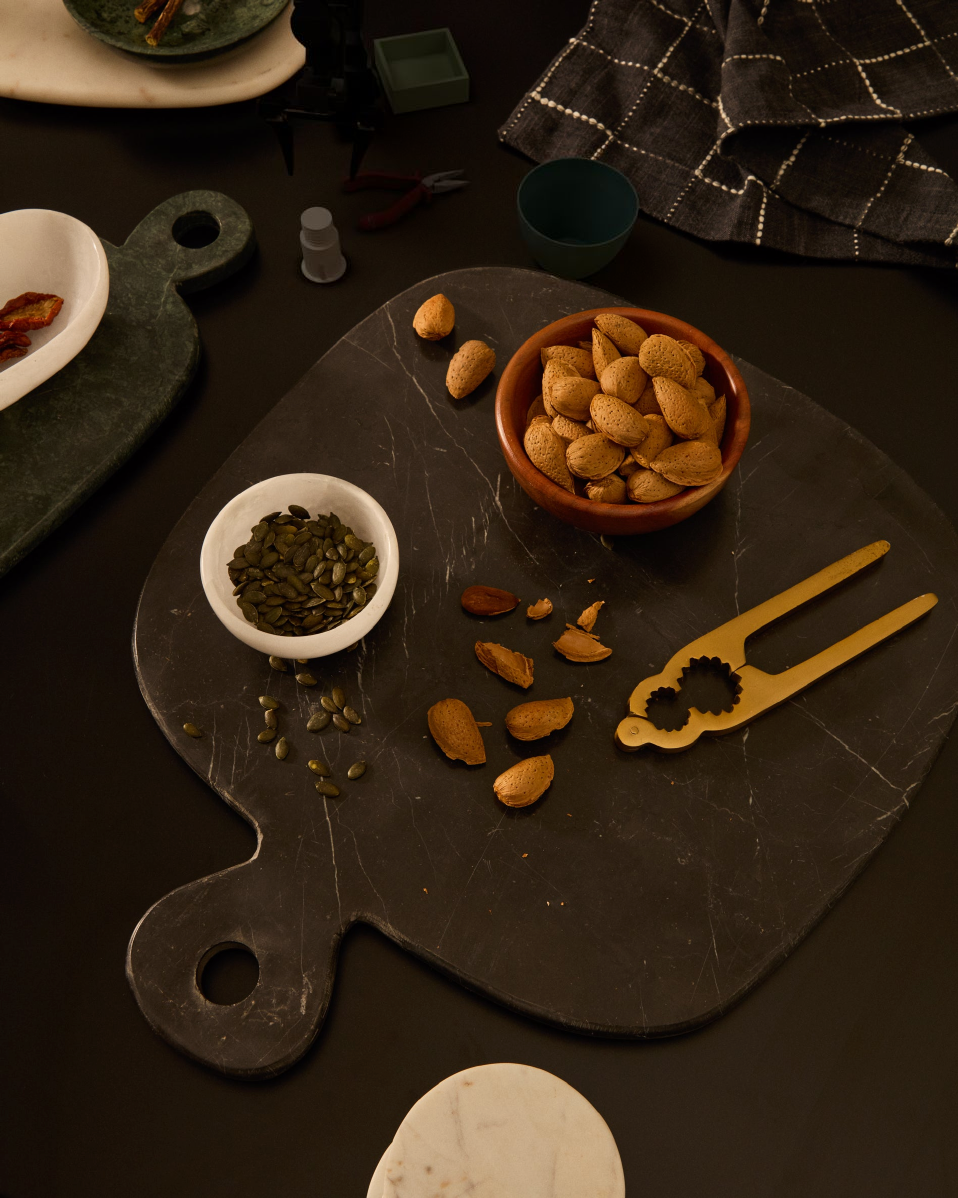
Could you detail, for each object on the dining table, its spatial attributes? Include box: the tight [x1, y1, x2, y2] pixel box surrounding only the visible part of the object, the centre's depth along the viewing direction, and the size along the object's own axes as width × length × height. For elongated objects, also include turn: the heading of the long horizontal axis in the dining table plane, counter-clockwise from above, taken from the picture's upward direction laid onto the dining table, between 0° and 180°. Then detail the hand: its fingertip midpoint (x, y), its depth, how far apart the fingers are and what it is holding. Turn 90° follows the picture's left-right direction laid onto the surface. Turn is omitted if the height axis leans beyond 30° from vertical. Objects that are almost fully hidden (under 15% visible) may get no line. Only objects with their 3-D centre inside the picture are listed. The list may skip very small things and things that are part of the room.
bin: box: [373, 27, 470, 115], centre depth 171 cm, size 14×14×5 cm
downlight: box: [299, 206, 347, 284], centre depth 150 cm, size 8×7×10 cm
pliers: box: [342, 169, 471, 231], centre depth 160 cm, size 12×20×3 cm, turn 110°
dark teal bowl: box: [516, 156, 640, 281], centre depth 151 cm, size 18×18×12 cm
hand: (321, 178), depth 146 cm, fingers open, 9 cm apart
